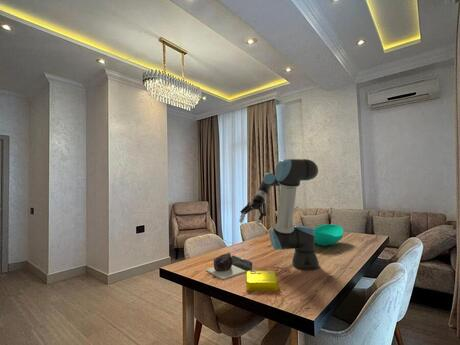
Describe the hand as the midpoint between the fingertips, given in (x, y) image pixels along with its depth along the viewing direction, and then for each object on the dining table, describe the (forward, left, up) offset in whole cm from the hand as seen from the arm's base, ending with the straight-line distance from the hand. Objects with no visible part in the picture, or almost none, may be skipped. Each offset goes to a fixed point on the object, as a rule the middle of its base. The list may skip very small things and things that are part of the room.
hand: (248, 222), depth 155 cm
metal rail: (-8, +13, -24) cm, 28 cm away
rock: (-7, +25, -23) cm, 34 cm away
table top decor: (-12, -68, -24) cm, 73 cm away
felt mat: (-7, +25, -24) cm, 35 cm away
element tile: (-33, +21, -24) cm, 46 cm away
